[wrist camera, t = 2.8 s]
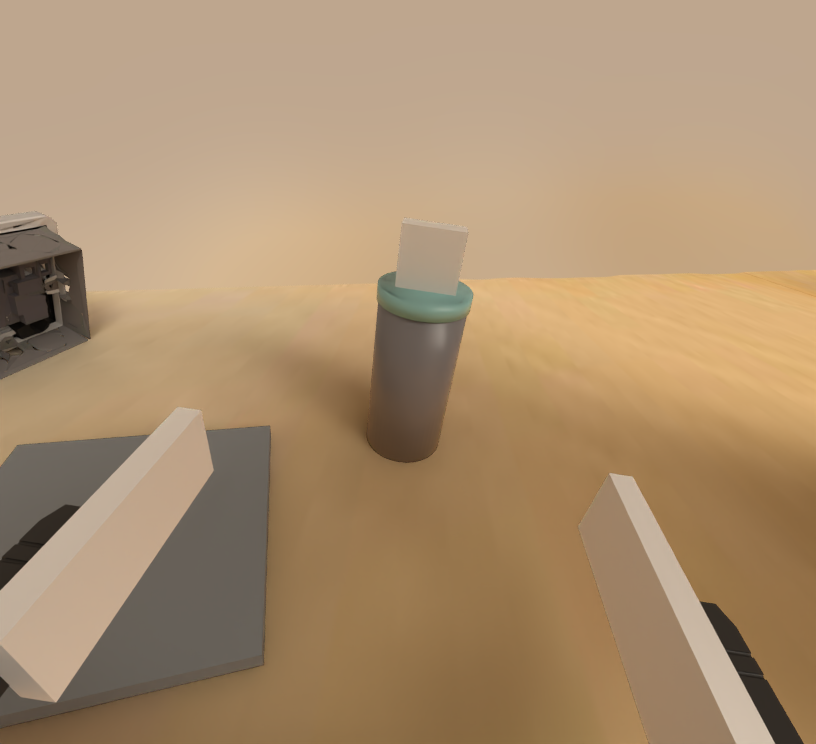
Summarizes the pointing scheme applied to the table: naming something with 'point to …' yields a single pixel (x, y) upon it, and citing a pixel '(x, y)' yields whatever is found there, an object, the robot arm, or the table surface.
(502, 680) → the table surface
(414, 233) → the trash can
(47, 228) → the electrical switch
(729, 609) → the table surface
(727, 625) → the robot arm
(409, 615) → the table surface
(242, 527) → the pad
